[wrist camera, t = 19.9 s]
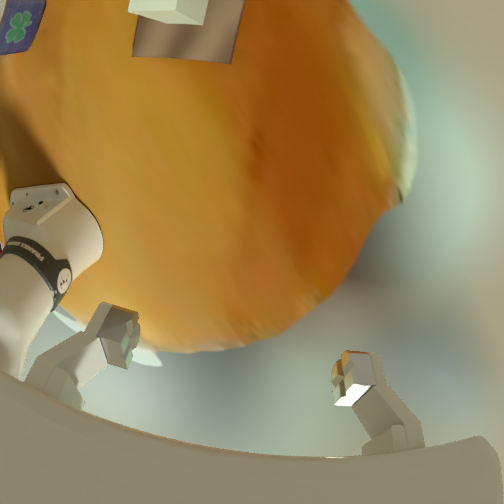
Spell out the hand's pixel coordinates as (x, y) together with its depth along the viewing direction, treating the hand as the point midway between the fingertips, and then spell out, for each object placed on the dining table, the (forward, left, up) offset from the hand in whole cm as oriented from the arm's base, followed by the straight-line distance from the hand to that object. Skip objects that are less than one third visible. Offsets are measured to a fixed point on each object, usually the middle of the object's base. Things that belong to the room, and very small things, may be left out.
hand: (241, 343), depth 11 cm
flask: (-38, +16, -29) cm, 51 cm away
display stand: (-12, +14, -29) cm, 35 cm away
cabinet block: (-12, +16, -28) cm, 34 cm away
